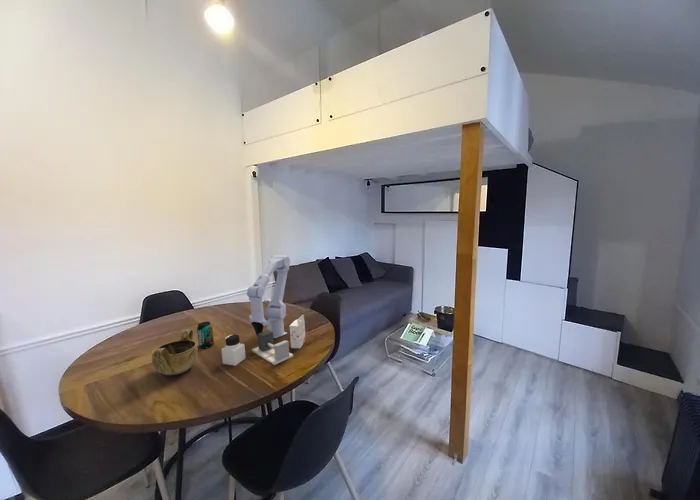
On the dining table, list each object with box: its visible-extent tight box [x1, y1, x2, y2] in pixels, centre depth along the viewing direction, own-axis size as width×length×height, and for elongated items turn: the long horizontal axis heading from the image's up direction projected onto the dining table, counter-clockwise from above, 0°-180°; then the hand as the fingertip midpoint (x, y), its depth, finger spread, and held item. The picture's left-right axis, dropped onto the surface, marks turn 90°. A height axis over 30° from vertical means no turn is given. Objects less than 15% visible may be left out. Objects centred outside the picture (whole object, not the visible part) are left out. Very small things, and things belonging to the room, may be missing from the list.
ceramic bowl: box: [151, 329, 199, 376], centre depth 123 cm, size 22×17×15 cm
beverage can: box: [196, 321, 215, 349], centre depth 147 cm, size 7×7×12 cm
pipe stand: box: [251, 339, 294, 366], centre depth 136 cm, size 20×10×8 cm, turn 46°
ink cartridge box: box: [289, 314, 307, 349], centre depth 144 cm, size 9×5×15 cm, turn 168°
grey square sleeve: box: [257, 330, 275, 351], centre depth 139 cm, size 4×6×8 cm, turn 136°
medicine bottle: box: [221, 333, 247, 367], centre depth 130 cm, size 7×7×12 cm
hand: (259, 335), depth 143 cm, fingers closed
